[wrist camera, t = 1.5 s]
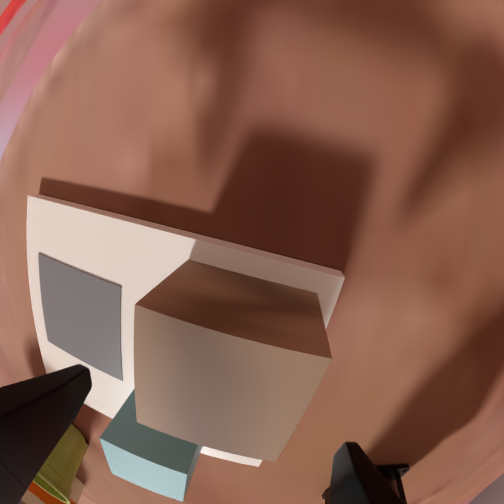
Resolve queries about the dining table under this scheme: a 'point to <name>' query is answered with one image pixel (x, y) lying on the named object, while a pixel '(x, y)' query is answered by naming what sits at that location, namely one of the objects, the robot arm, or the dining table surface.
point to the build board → (127, 287)
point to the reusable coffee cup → (38, 500)
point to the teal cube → (148, 454)
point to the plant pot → (62, 465)
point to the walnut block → (227, 359)
